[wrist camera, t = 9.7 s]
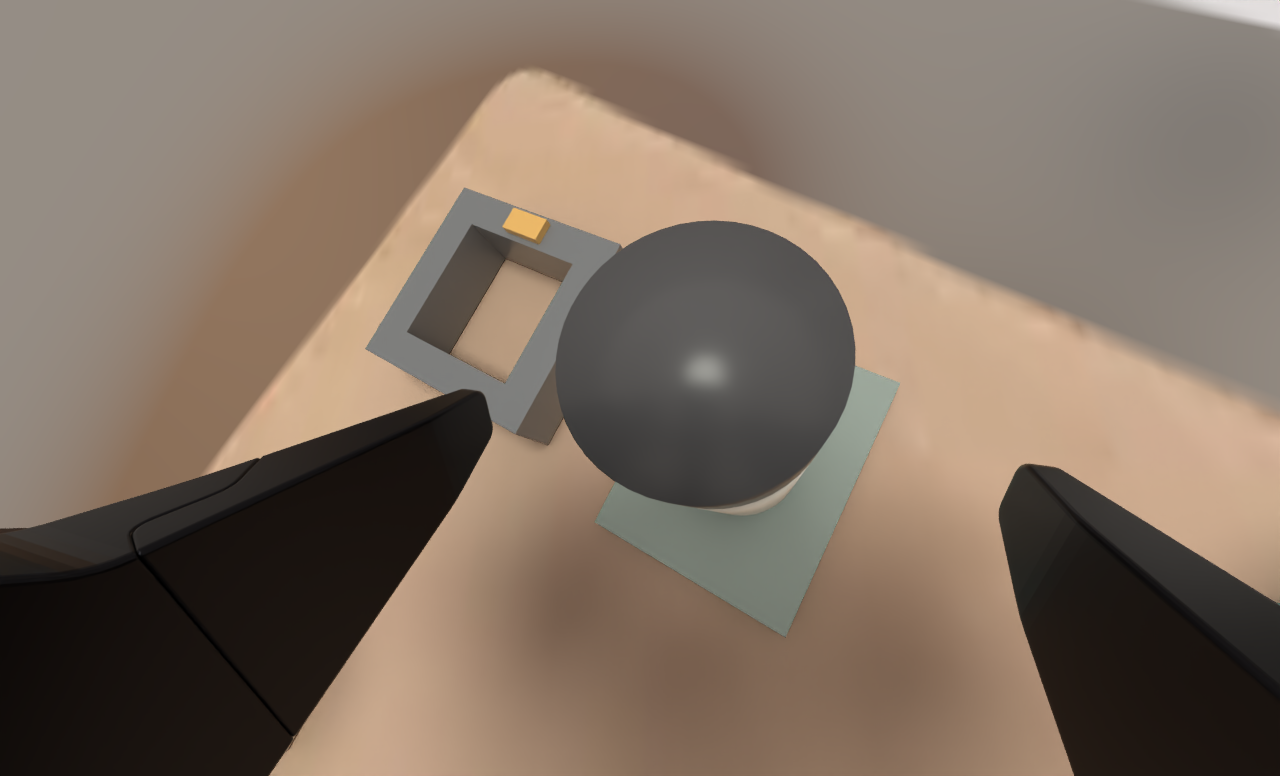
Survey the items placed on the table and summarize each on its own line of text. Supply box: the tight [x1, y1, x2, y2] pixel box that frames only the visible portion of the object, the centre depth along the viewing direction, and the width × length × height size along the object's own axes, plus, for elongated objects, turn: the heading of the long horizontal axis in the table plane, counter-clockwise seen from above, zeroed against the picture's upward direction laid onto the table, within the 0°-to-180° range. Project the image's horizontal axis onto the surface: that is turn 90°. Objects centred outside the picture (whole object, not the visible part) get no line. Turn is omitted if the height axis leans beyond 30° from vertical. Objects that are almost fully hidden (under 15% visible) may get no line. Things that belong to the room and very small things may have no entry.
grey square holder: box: [365, 188, 622, 445], centre depth 21 cm, size 9×9×3 cm
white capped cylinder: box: [555, 221, 855, 516], centre depth 13 cm, size 4×4×12 cm
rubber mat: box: [595, 366, 900, 638], centre depth 18 cm, size 10×8×1 cm
